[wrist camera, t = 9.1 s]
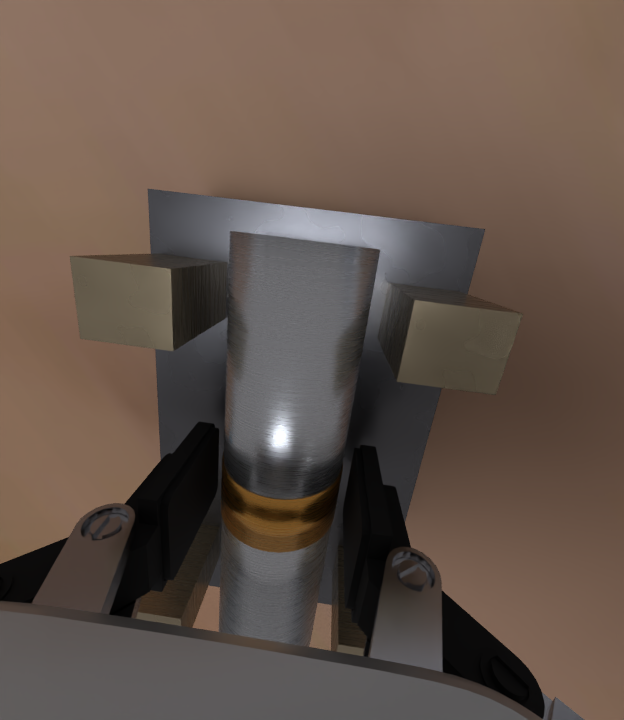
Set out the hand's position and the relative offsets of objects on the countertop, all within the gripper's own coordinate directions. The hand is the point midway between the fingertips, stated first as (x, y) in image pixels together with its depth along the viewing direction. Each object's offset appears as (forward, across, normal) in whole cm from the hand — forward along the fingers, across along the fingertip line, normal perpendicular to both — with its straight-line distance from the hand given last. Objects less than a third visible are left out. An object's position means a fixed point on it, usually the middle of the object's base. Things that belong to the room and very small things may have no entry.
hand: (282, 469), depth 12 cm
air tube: (0, 0, 0) cm, 0 cm away
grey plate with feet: (+7, 0, 0) cm, 7 cm away
